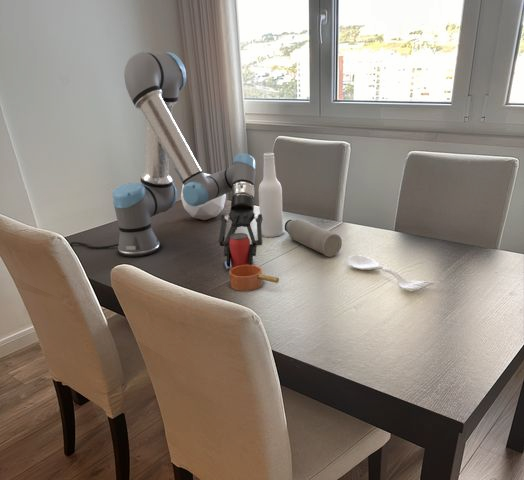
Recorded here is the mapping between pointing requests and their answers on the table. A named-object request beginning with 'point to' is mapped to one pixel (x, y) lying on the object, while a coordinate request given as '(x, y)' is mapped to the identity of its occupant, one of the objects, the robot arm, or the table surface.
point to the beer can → (239, 249)
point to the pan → (245, 277)
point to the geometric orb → (205, 207)
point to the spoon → (370, 264)
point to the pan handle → (268, 278)
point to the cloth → (227, 266)
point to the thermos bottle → (314, 237)
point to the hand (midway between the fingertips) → (239, 264)
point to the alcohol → (270, 199)
